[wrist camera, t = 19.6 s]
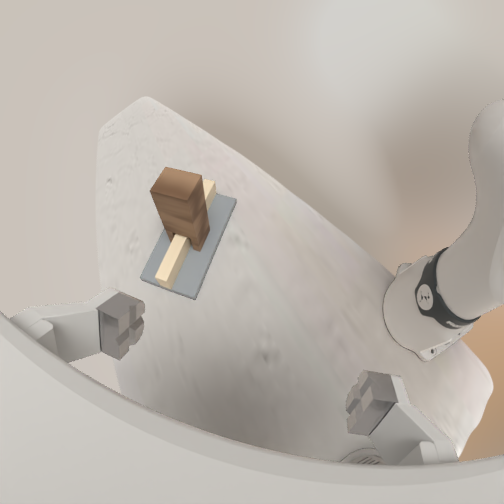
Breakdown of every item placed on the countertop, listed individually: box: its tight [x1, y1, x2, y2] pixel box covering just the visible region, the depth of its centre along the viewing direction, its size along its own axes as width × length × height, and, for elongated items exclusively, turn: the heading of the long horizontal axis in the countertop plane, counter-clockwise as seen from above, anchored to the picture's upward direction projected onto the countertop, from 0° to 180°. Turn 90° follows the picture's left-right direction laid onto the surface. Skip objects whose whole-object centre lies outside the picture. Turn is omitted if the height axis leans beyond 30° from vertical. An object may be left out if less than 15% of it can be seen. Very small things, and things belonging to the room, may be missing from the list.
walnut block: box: [150, 167, 210, 252], centre depth 42 cm, size 4×6×14 cm
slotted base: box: [140, 179, 236, 300], centre depth 47 cm, size 20×10×5 cm, turn 162°
